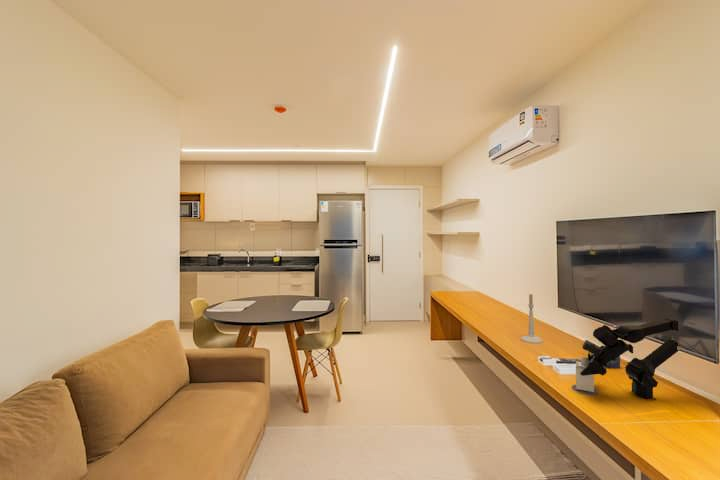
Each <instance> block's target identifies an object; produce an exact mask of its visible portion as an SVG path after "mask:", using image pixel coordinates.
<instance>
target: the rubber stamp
mask: <svg viewBox="0 0 720 480" xmlns="http://www.w3.org/2000/svg"><path fill="white" fill-rule="evenodd" d="M587 366H588V356H587V357H586V356H581V357H580V361H578V360H576V361H575V385H576V389H580V390H585V391H590V392H594V388H595V374H593V375H585V376H582V375H581V374H580V373H581V372H582V371H583V370H584V369H585V368H586V367H587Z"/></svg>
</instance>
